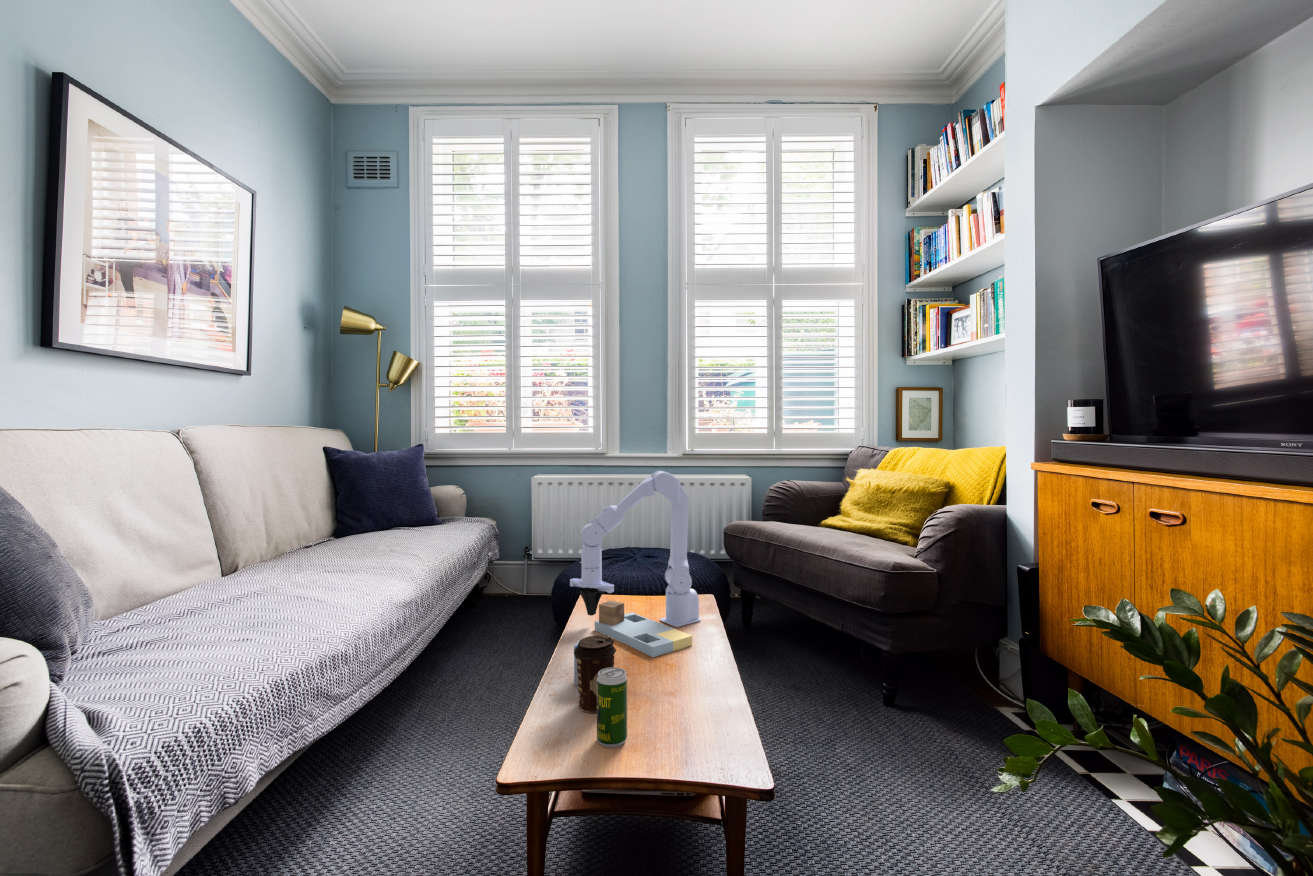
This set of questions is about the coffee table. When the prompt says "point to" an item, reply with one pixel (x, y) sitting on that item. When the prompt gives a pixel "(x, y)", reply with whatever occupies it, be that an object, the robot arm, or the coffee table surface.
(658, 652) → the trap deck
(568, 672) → the coffee table surface
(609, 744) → the green drink can
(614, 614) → the walnut cube
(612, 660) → the coffee cup
